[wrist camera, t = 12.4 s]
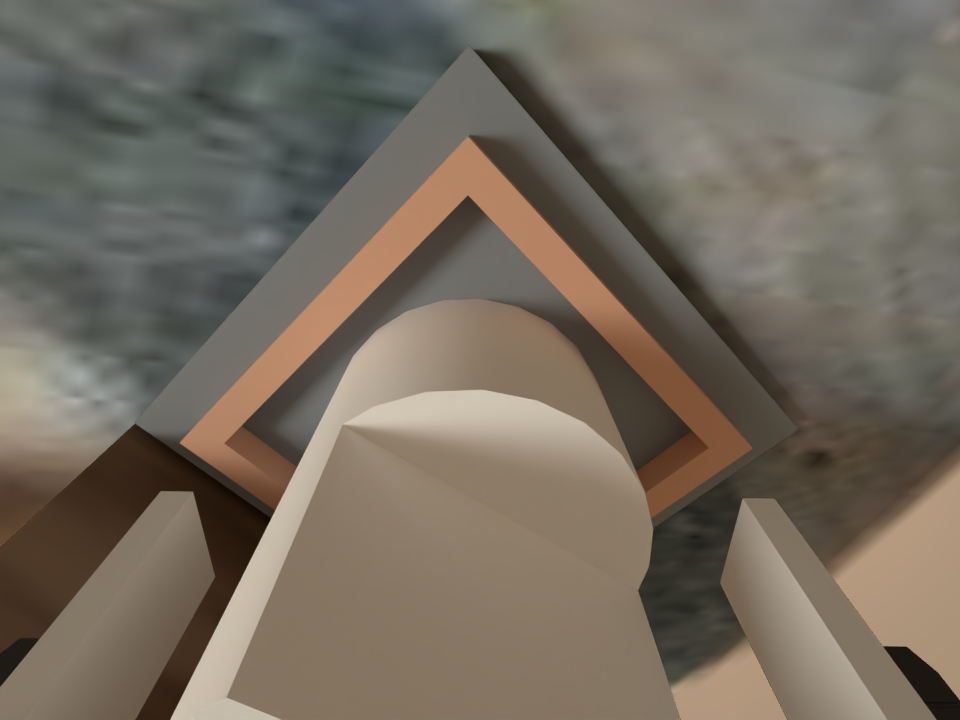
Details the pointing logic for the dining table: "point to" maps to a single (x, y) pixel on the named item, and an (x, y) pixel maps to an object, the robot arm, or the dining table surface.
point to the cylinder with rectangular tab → (449, 544)
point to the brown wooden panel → (99, 528)
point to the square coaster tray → (467, 275)
